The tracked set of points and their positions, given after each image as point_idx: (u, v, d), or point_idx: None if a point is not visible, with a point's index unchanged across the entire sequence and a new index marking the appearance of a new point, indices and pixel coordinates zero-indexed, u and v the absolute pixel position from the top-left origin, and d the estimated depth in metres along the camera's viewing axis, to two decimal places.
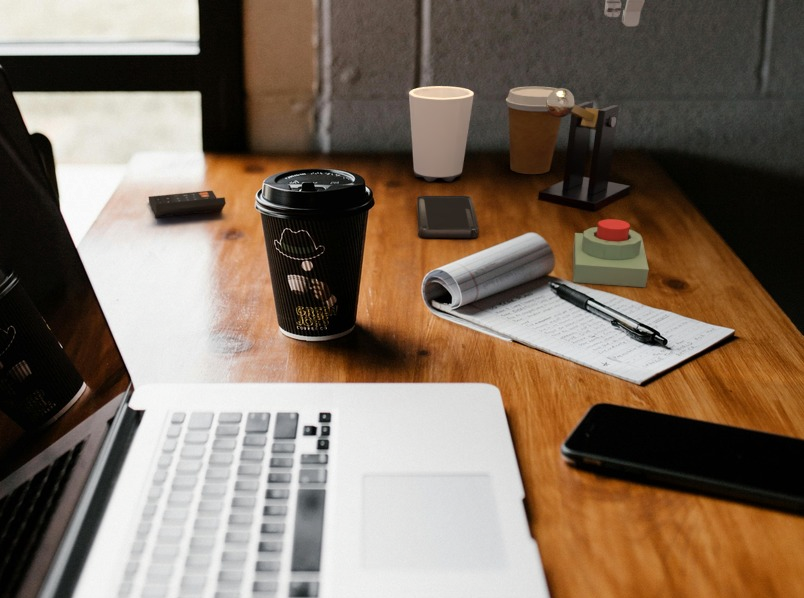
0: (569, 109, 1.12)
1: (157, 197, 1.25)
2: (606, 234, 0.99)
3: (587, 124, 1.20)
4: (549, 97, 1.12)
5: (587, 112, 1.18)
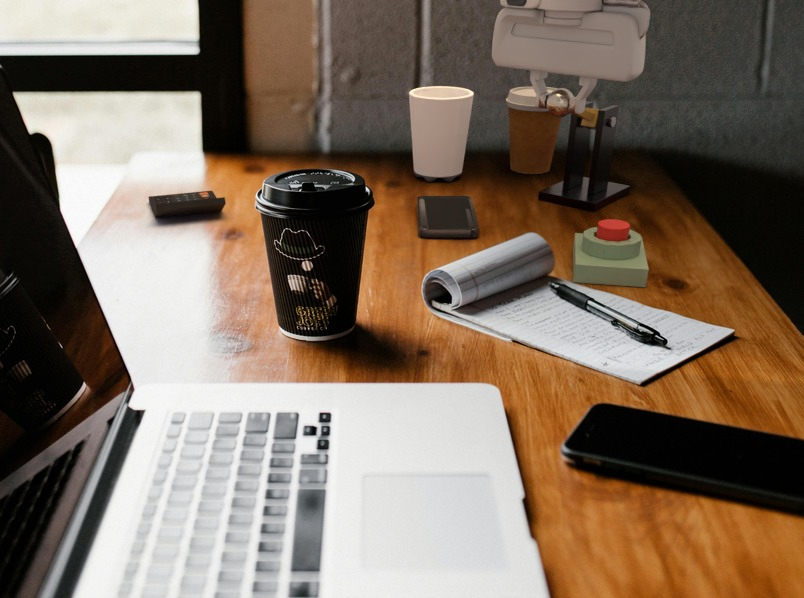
0: None
1: (157, 197, 1.25)
2: (606, 234, 0.99)
3: (587, 124, 1.20)
4: (549, 97, 1.12)
5: (587, 112, 1.18)
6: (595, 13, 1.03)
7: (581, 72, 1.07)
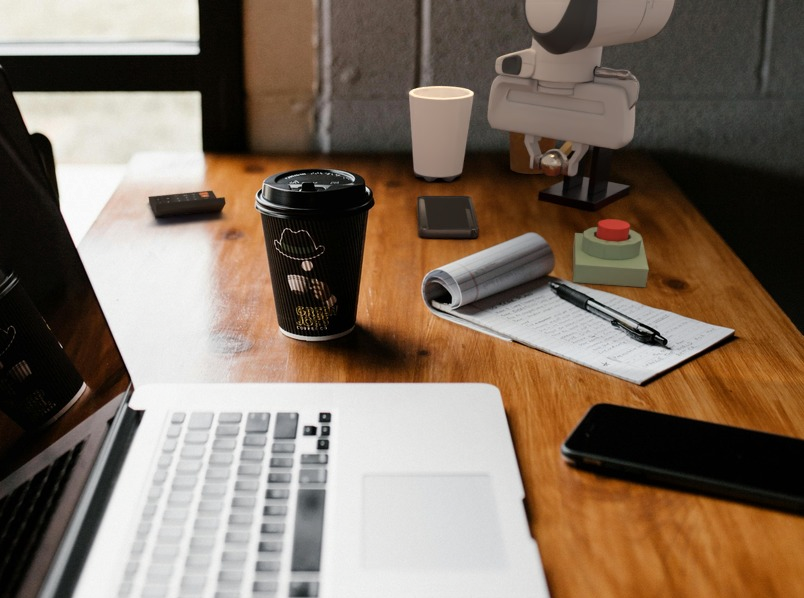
0: None
1: (157, 197, 1.25)
2: (606, 234, 0.99)
3: None
4: (541, 166, 1.16)
5: None
6: (587, 84, 1.08)
7: (574, 138, 1.12)
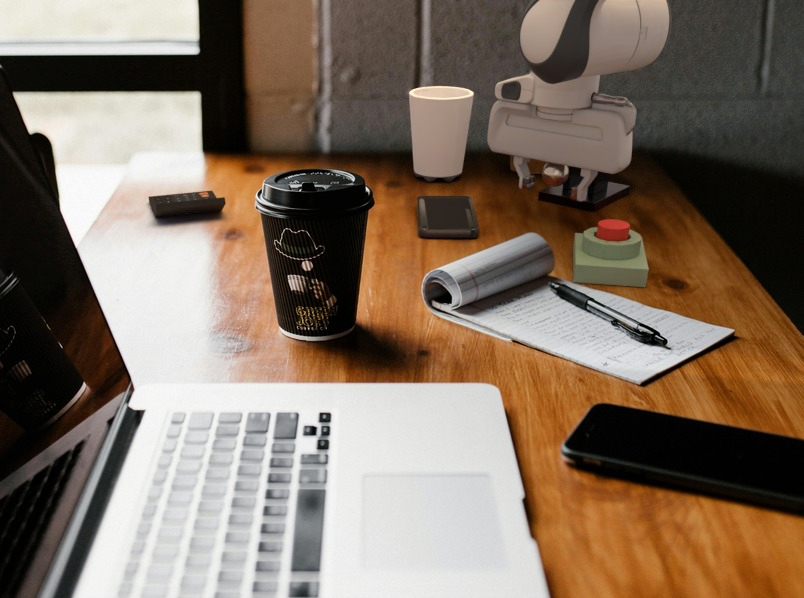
0: (566, 179, 1.18)
1: (157, 197, 1.25)
2: (606, 234, 0.99)
3: None
4: (543, 177, 1.18)
5: None
6: (585, 110, 1.09)
7: (572, 163, 1.13)
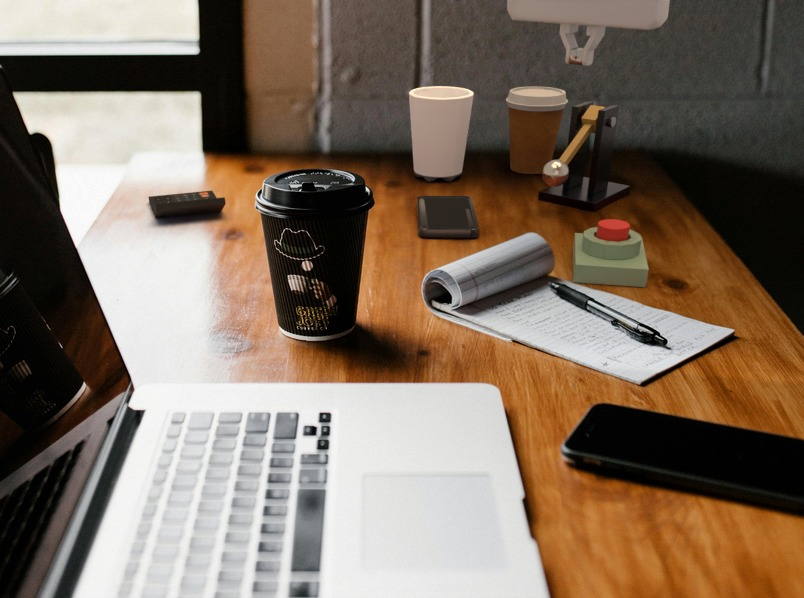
0: (566, 179, 1.18)
1: (157, 197, 1.25)
2: (606, 234, 0.99)
3: None
4: (543, 177, 1.18)
5: (584, 136, 1.20)
6: None
7: (602, 22, 1.02)
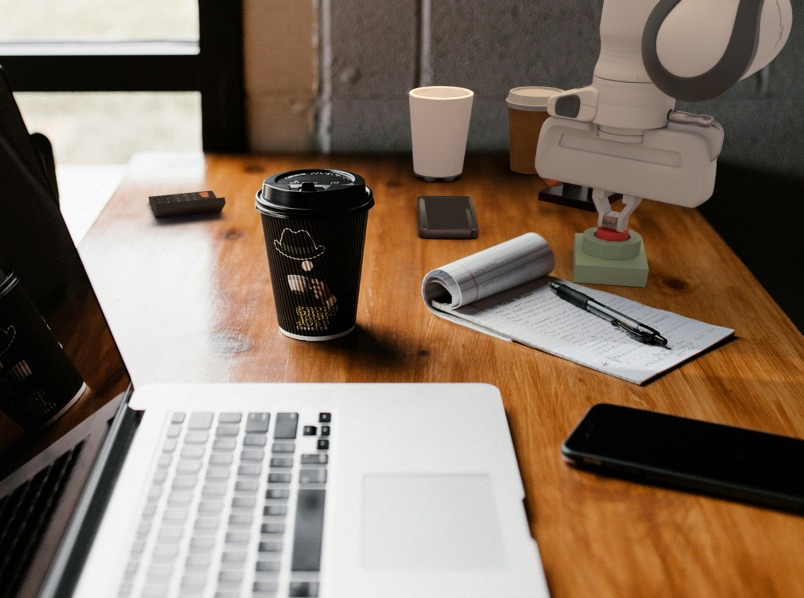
0: None
1: (157, 197, 1.25)
2: (605, 239, 0.99)
3: None
4: None
5: None
6: (659, 131, 0.90)
7: (641, 193, 0.94)
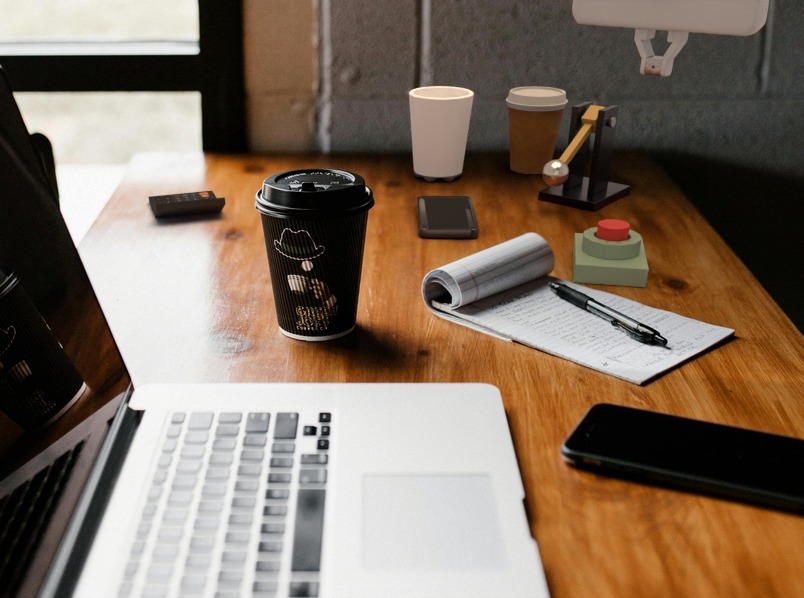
0: (566, 179, 1.18)
1: (157, 197, 1.25)
2: (606, 234, 0.99)
3: None
4: (543, 177, 1.18)
5: (584, 136, 1.20)
6: None
7: (688, 26, 0.88)
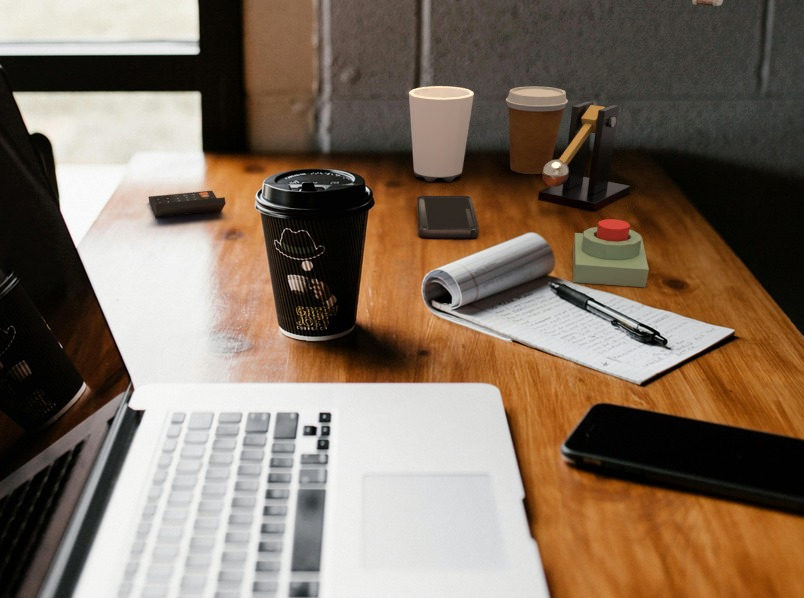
0: (566, 179, 1.18)
1: (157, 197, 1.25)
2: (606, 234, 0.99)
3: None
4: (543, 177, 1.18)
5: (584, 136, 1.20)
6: None
7: None
